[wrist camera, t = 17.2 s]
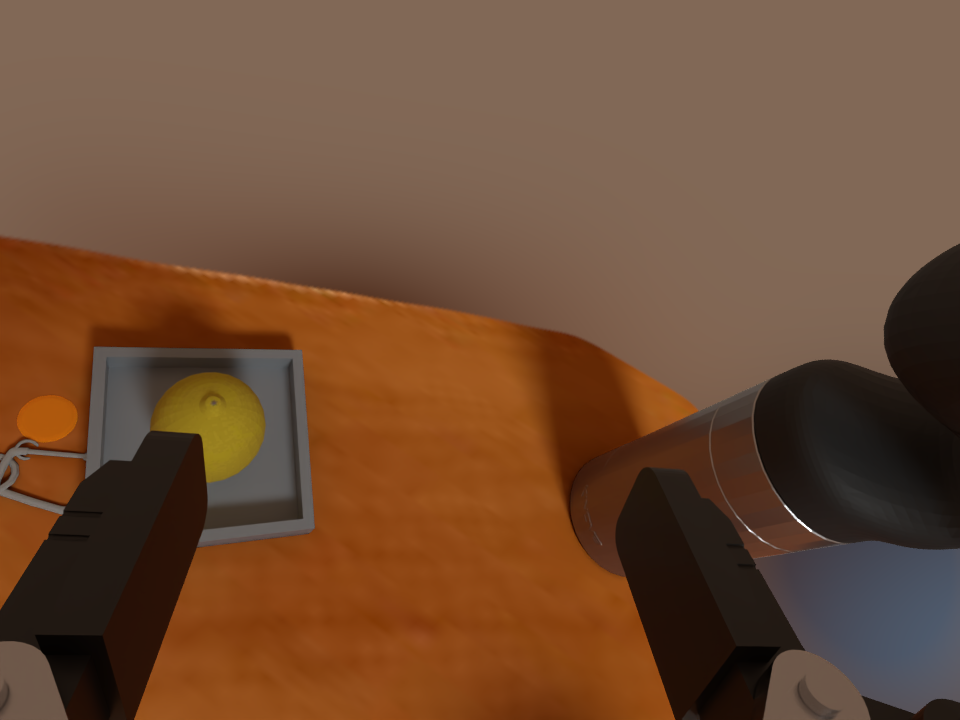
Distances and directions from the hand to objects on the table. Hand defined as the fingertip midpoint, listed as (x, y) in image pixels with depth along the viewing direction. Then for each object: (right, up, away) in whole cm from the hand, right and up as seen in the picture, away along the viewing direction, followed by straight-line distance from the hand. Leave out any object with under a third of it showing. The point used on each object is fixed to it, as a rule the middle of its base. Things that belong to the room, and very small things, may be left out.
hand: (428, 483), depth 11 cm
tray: (-15, -3, +24) cm, 28 cm away
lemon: (-15, -3, +24) cm, 28 cm away
